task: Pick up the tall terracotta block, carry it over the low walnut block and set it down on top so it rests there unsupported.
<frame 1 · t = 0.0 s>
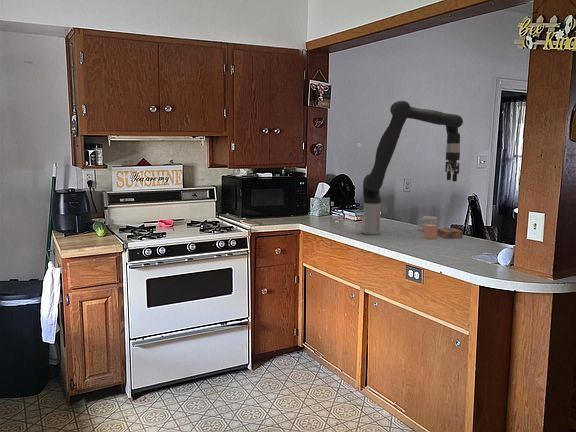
hand: (451, 180, 302), 29 cm above the worktop, fingers open, 8 cm apart
terracotta block: (429, 238, 289), on the worktop
cup: (426, 231, 311), on the worktop
walnut block: (449, 237, 293), on the worktop
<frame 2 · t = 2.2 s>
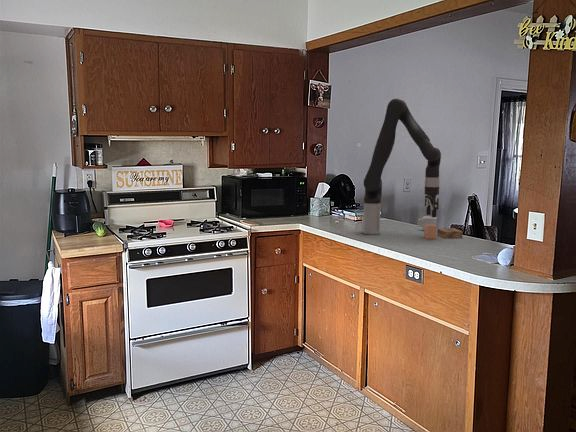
hand: (431, 216, 287), 12 cm above the worktop, fingers open, 8 cm apart
nothing on the worktop moved.
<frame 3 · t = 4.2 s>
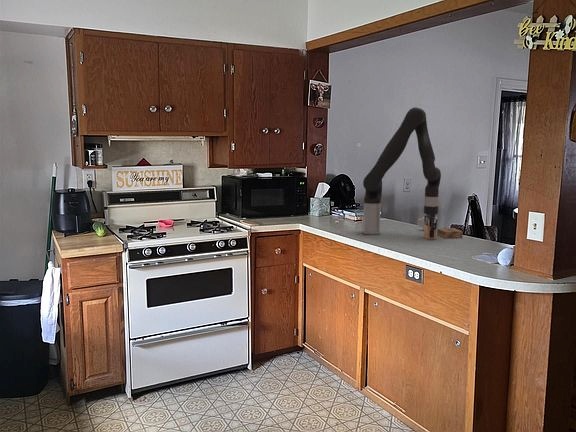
hand: (429, 236, 289), 1 cm above the worktop, fingers closed on terracotta block, 5 cm apart
terracotta block: (429, 237, 289), on the worktop, touching gripper
everything else where it was.
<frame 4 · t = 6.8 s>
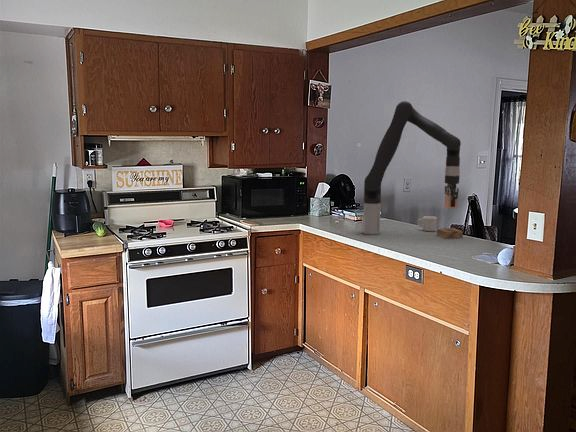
hand: (450, 206, 290), 17 cm above the worktop, fingers closed on terracotta block, 5 cm apart
terracotta block: (450, 207, 290), point 16 cm above the worktop, touching gripper
everything else where it was.
when the fingers open (6 cm above the worktop, at t = 9.5 s): terracotta block drops 1 cm, point 4 cm above the worktop.
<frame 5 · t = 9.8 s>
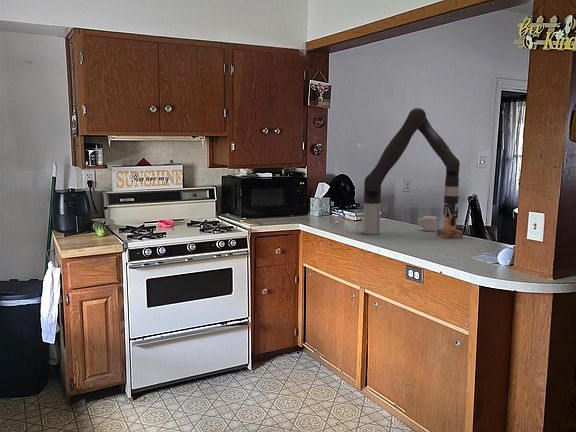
hand: (450, 224, 292), 7 cm above the worktop, fingers open, 7 cm apart
terracotta block: (449, 230, 292), point 4 cm above the worktop
everything else where it was.
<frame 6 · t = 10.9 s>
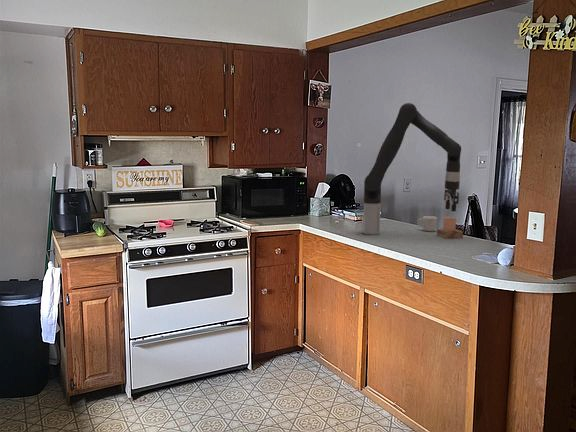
hand: (450, 210, 290), 14 cm above the worktop, fingers open, 8 cm apart
terracotta block: (449, 230, 292), point 3 cm above the worktop, touching walnut block
walnut block: (449, 237, 293), on the worktop, touching terracotta block
everything else where it was.
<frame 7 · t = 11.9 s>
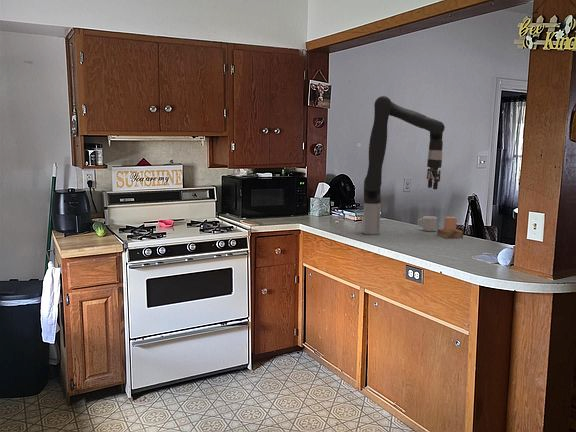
hand: (432, 188, 293), 26 cm above the worktop, fingers open, 8 cm apart
nothing on the worktop moved.
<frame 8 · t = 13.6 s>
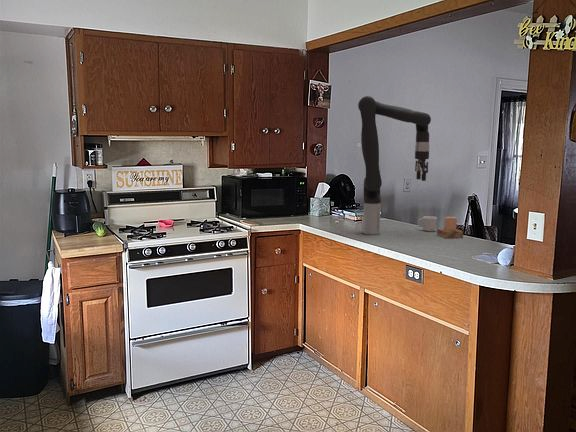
hand: (421, 180, 296), 30 cm above the worktop, fingers open, 8 cm apart
terracotta block: (450, 230, 292), point 4 cm above the worktop
walnut block: (449, 237, 293), on the worktop
everything else where it was.
at the end: terracotta block inside the target area on the walnut block (0.3 cm from its centre), point 4.0 cm above the walnut block's base; terracotta block tilted 0°; the gripper is holding nothing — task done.
